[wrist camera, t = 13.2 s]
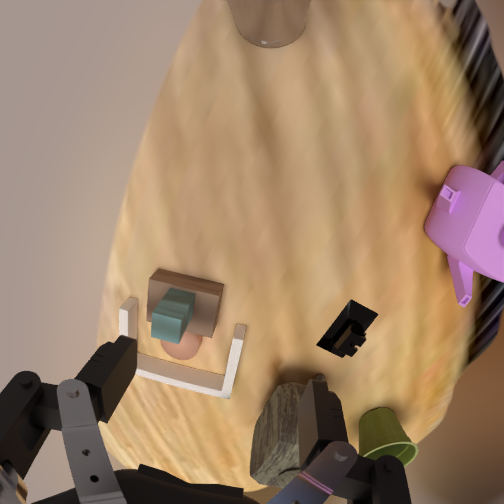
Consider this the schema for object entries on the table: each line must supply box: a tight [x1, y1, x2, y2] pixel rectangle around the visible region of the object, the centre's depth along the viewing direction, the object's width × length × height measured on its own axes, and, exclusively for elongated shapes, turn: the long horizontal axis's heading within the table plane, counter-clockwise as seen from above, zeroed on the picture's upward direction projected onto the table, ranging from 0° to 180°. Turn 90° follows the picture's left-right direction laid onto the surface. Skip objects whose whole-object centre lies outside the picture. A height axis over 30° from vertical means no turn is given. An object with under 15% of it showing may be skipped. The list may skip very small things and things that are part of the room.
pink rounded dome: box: [161, 331, 202, 360], centre depth 47 cm, size 6×6×3 cm
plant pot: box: [358, 408, 418, 467], centre depth 47 cm, size 12×12×11 cm
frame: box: [119, 297, 246, 399], centre depth 47 cm, size 12×19×4 cm, turn 79°
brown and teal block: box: [147, 268, 224, 344], centre depth 41 cm, size 7×10×11 cm
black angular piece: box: [316, 300, 378, 358], centre depth 44 cm, size 12×7×5 cm, turn 151°
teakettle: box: [424, 161, 504, 307], centre depth 33 cm, size 17×17×12 cm
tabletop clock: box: [250, 374, 334, 489], centre depth 39 cm, size 14×9×25 cm, turn 161°
